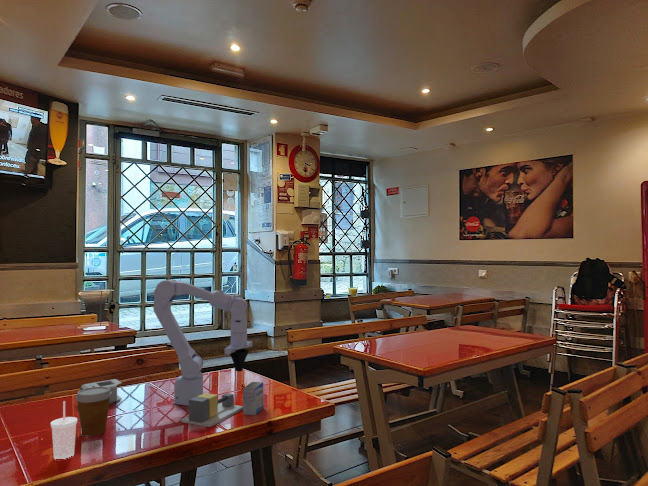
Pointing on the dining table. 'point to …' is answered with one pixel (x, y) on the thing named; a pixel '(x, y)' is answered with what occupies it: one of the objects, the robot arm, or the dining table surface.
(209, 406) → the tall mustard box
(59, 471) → the dining table surface
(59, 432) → the beverage cup
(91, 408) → the disposable coffee cup
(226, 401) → the grey board with rod
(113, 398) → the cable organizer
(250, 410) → the medicine box
